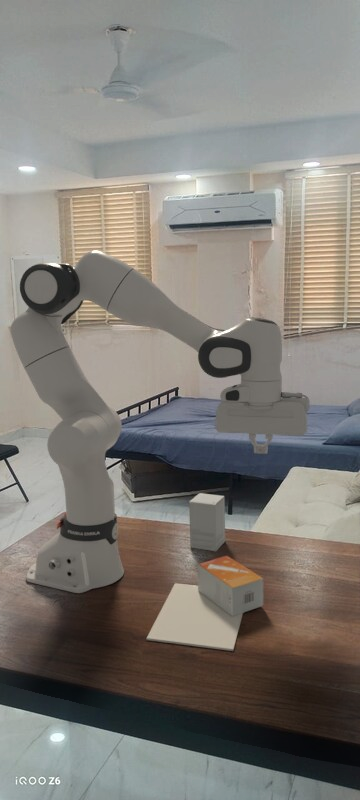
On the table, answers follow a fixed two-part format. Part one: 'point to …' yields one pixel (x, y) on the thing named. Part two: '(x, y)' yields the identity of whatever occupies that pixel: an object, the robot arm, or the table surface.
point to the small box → (230, 585)
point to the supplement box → (207, 521)
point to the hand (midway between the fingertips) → (260, 452)
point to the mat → (194, 621)
